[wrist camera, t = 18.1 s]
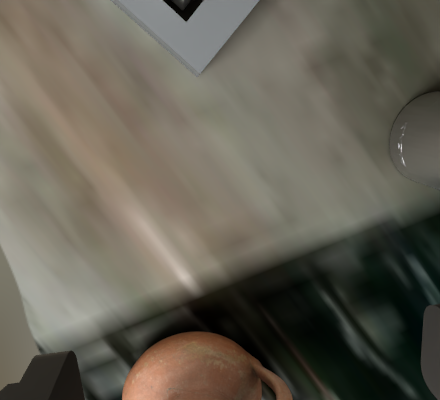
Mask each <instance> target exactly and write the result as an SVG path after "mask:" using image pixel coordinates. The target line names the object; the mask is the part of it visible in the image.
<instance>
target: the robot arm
mask: <svg viewBox="0 0 440 400" xmlns="http://www.w3.org/2000/svg"><path fill="white" fill-rule="evenodd" d="M389 143H390V154H391V157H392V160H393V162H394V164H395V166H396V168H397V169H398V170H399V171H400V172H401V174H402V175H404V176H405V177H407V178H408V179H410V180H413V181H415V182H418V183H421V184H424V185H426V186H429V187H432V188H435V189H437V190H440V91H438V92H430V93H427V94H423V95H421V96H419V97H417V98H416V99H414V100H412V101H411V102H410V103H409V104H408V105H406V106H405V108H404V109H403V110H402V111H401V112H400V114H399V115H398V117H397V119H396V121H395V122H394V125H393V128H392V131H391V135H390V142H389ZM421 369H422V373H423V377H424V380H425V382H426V384H427V386H428V388H429V389H430V391H431V392H432V393H433V395H434V396H435V397H436V398H437V399H438V400H440V304H437V305H430V306H428V307H427V308H426V310H425V312H424V321H423V337H422V352H421ZM0 400H85V398H84V393H83V388H82V383H81V378H80V373H79V368H78V363H77V358H76V355H75V353H74V352H73V351H65V352H58V353H50V354H42V355H36V356H35V357H34V358H33V359H32V361H31V363H30V364H29V366H28V368H27V370H26V372H25V374H24V375H23V377H22V379H21V381H20V382H19V383H14V384H8V385H7V386H5V387H4V388H3V389H2V390H1V391H0Z"/></svg>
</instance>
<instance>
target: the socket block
mask: <svg viewBox="0 0 440 400" xmlns="http://www.w3.org/2000/svg"><path fill="white" fill-rule="evenodd" d="M111 1H112V2H113V3H114V4H116V5H117V6H118V7H119V8H120V9H121V10H122V11H123V12H125V13H126V14H127V15H128V16H129V17H130V18H131V19H132V20H134V21H135V22H136V23H137V24H138V25H139V26H140V27H141V28H143V29H144V30H145V31H146V32H147V33H148V34H149V35H150V36H152V37H153V38H154V39H155V40H156V41H157V42H158V43H159V44H161V45H162V46H163V47H164V48H165V49H166V50H167V51H168V52H170V53H171V54H172V55H173V56H174V57H175V58H176V59H177V60H178V61H180V62H181V63H182V64H183V65H184V66H185V67H186V68H187V69H189V70H190V71H191V72H192V73H193V74H194V75H195V76H196V77H197V76H198V75H199V74H200V73H201V72H202V71H203V69H204V68H205V67H206V66H207V64H208V63H209V62H210V61H211V60H212V58H213V57H214V56H215V55H216V53H217V52H218V51H219V50H220V48H221V47H222V46H223V45H224V43H225V42H226V41H227V40H228V39H229V37H230V36H231V35H232V34H233V32H234V31H235V30H236V29H237V27H238V26H239V25H240V24H241V22H242V21H243V20H244V19H245V18H246V16H247V15H248V14H249V13H250V11H251V10H252V9H253V8H254V6H255V5H256V4H257V3H258V1H259V0H204V1H203V2H202V3H201V4H200V6H199V7H198V8H197V9H196V11H195V12H194V13H193V15H192V16H191V17H190V18H189V20H188V21H187V22H186V21H185V20H183V19H182V18H181V17H180V16H179V15H178V14H177V13H176V12H175V11H174V10H173V9H172V8H171V7H169V6H168V5H167V4H166V3H165V2H164V1H163V0H111Z"/></svg>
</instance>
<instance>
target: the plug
mask: <svg viewBox="0 0 440 400" xmlns="http://www.w3.org/2000/svg"><path fill="white" fill-rule="evenodd" d="M171 1H172V2H173V3H175V4H176V5H177V6H178V7H179V8H180V9H181V10H182V11H183V10H184V9H185V7H186V6H187V5H188V3H189V2H190V1H191V0H171Z"/></svg>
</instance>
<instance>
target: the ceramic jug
mask: <svg viewBox="0 0 440 400" xmlns="http://www.w3.org/2000/svg"><path fill="white" fill-rule="evenodd" d="M261 380H262V381H264V382H265V383H266V384H268V386H269V387H271V389H273V391H274V392H275V394H276V398H277V399H276V400H293V398H292V395H291V392H290V390H289V388H288V386H287V385H286V383H285V382H284V381H283V380H282V379H281V378H280V377H278V376H277V375H275V374H274V373H273V372H271V371H269V370H267V369H266V368H264V367H262V365H261V363H260V362H259V361H258V360H257V359H256V358H254V357H253V356H251V355H250V354H249V353H248V352H246V351H245V350H244V349H243V348H242V347H241V346H239V345H238V344H237V343H235V342H234V341H232V340H230V339H228V338H226V337H224V336H222V335H219V334H215V333H210V332H201V331H195V332H185V333H180V334H176V335H173V336H170V337H167V338H165V339H163V340H161V341H159V342H157V343H156V344H154V345H153V346H151V347H150V348H149V349H147V350H146V351H145V352H144V353H143V354H142V355H141V356H140V358H139V359H138V360H137V362H136V363H135V364H134V366H133V367H132V369H131V370H130V372H129V373H128V376H127V378H126V381H125V384H124V388H123V394H122V400H261V397H262V386H261Z"/></svg>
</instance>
